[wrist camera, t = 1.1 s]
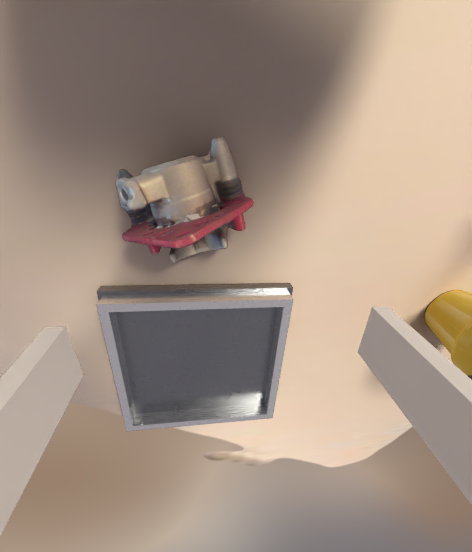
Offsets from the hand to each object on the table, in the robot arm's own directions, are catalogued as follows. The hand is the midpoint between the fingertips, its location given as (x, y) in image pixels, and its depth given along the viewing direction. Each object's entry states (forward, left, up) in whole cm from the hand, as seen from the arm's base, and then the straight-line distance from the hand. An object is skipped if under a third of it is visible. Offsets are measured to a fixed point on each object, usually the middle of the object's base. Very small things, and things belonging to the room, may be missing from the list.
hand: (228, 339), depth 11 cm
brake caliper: (-3, -2, -18) cm, 18 cm away
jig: (+18, -1, -18) cm, 25 cm away
